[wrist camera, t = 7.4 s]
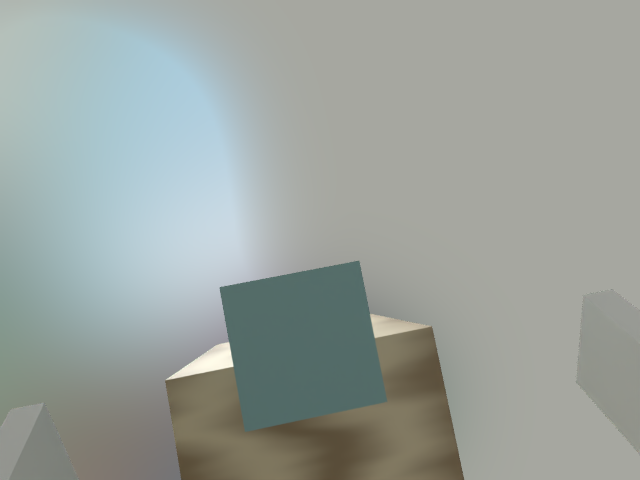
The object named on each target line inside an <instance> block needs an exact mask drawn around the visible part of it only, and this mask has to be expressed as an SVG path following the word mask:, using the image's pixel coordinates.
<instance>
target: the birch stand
mask: <svg viewBox="0 0 640 480" xmlns="http://www.w3.org/2000/svg"><path fill="white" fill-rule="evenodd" d="M370 317H371V322H372V327H373V332H374V337H375V342H376V347H377V352H378V357H379V362H380V367H381V372H382V377H383V382H384V387H385V392H386V397H387V402H384V403H380V404H375V405H370V406H365V407H361V408H356V409H351V410H347V411H342V412H337V413H332V414H328V415H323V416H318V417H313V418H309V419H304V420H299V421H295V422H290V423H285V424H280V425H276V426H271V427H266V428H262V429H257V430H252V431H247V432H245V429H244V424H243V418H242V412H241V407H240V401H239V395H238V390H237V384H236V378H235V372H234V367H233V361H232V355H231V350H230V344H229V342H228V343H223V344H218V345H216V346H215V347H213V348H212V349H210V350H209V351H208V352H206V353H205V354H203V355H202V356H200V357H199V358H197V359H196V360H194V361H193V362H191V363H190V364H189V365H187V366H186V367H184V368H183V369H181V370H180V371H178V372H177V373H175V374H174V375H172V376H171V377H169V378H168V379H167V380H165V382H166V388H167V394H168V400H169V406H170V413H171V419H172V424H173V430H174V437H175V442H176V449H177V455H178V461H179V467H180V473H181V480H464V477H463V472H462V468H461V462H460V458H459V453H458V448H457V443H456V439H455V434H454V429H453V424H452V420H451V415H450V410H449V405H448V400H447V396H446V391H445V387H444V381H443V376H442V372H441V367H440V362H439V357H438V353H437V348H436V343H435V338H434V334H433V329H432V326H427V325H422V324H418V323H413V322H408V321H403V320H398V319H393V318H388V317H383V316H378V315H373V314H370Z"/></svg>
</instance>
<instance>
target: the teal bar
mask: <svg viewBox="0 0 640 480" xmlns="http://www.w3.org/2000/svg"><path fill="white" fill-rule="evenodd" d="M220 293H221V298H222V304H223V310H224V315H225V321H226V327H227V333H228V337H229V344H230V350H231V355H232V361H233V367H234V372H235V378H236V384H237V390H238V395H239V401H240V407H241V412H242V418H243V424H244V429H245V432H247V431H252V430H257V429H262V428H266V427H271V426H276V425H280V424H285V423H290V422H295V421H299V420H304V419H309V418H313V417H318V416H323V415H328V414H332V413H337V412H342V411H347V410H351V409H356V408H361V407H365V406H370V405H375V404H380V403H384V402H387V397H386V392H385V387H384V382H383V377H382V372H381V367H380V362H379V357H378V352H377V347H376V342H375V337H374V332H373V327H372V322H371V317H370V312H369V307H368V302H367V297H366V292H365V287H364V282H363V277H362V272H361V267H360V262H359V261H355V262H350V263H345V264H339V265H334V266H329V267H324V268H319V269H314V270H308V271H303V272H298V273H292V274H287V275H282V276H277V277H271V278H266V279H261V280H256V281H250V282H246V283H240V284H235V285H230V286H224V287H220Z"/></svg>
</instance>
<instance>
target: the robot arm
mask: <svg viewBox="0 0 640 480" xmlns="http://www.w3.org/2000/svg"><path fill="white" fill-rule="evenodd" d="M576 383H577V384H578V385H579V386H580V387H581V388H582V390H583V391H584V392H585V393H586V394H587V395H588V396H589V398H590V399H591V400H592V401H593V402H594V403H595V404H596V405H597V407H598V408H599V409H600V410H601V411H602V412H603V413H604V414H605V416H606V417H607V418H608V419H609V420H610V421H611V422H612V424H613V425H614V426H615V427H616V428H617V429H618V430H619V431H620V433H621V434H622V435H623V436H624V437H625V438H626V439H627V441H628V442H629V443H630V444H631V445H632V446H633V447H634V448H635V450H636V451H637V452H638V453H639V454H640V310H638V309H637V308H636V307H634V306H633V305H632V304H631V303H629V302H628V301H627V300H626V299H624V298H623V297H622V296H620V295H619V294H618V293H617V292H615V291H614V290H612V289H611V290H606V291H601V292H596V293H591V294H587V295H584V296H583V306H582V319H581V331H580V343H579V356H578V368H577V380H576ZM0 480H79V478H78V476H77V474H76V472H75V469H74V467H73V465H72V463H71V460H70V458H69V456H68V454H67V452H66V449H65V447H64V445H63V443H62V440H61V438H60V436H59V434H58V431H57V430H56V427H55V425H54V423H53V420H52V418H51V416H50V414H49V411H48V409H47V407H46V405H45V403H40V404H35V405H30V406H25V407H20V408H15V409H11V410H10V411H9V413H8V415H7V417H6V419H5V421H4V422H3V425H2V426H1V428H0Z"/></svg>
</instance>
